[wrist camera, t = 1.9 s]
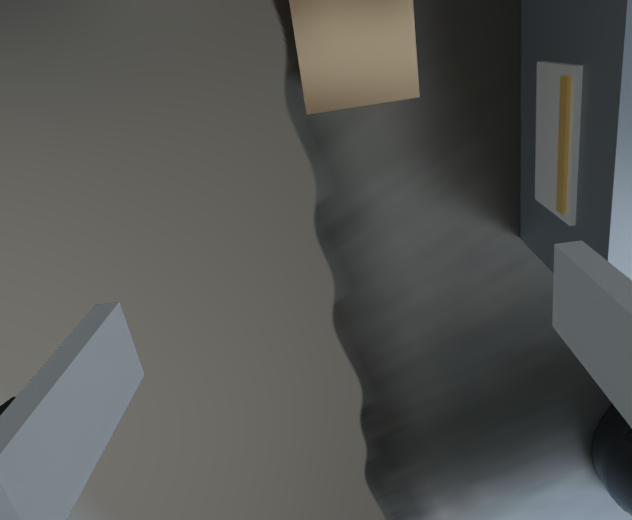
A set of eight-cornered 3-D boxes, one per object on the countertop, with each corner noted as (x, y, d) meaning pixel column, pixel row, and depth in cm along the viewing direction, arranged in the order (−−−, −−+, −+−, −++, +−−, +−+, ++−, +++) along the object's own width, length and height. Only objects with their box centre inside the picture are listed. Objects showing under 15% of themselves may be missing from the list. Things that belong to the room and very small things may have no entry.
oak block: (391, 78, 33) (419, 97, 23) (313, 90, 33) (306, 114, 23) (378, -68, 30) (404, -122, 19) (291, -53, 30) (274, -98, 20)
